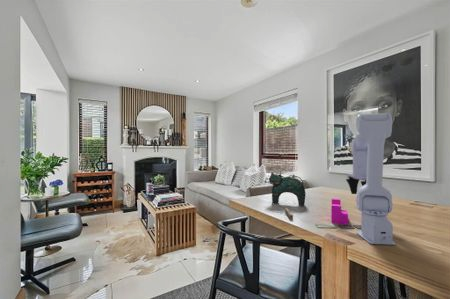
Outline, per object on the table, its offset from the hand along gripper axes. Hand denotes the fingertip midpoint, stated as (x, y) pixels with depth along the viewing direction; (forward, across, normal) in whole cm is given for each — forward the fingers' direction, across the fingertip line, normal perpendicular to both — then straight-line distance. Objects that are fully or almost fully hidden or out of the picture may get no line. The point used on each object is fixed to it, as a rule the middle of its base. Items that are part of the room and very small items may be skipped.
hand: (360, 195), depth 100 cm
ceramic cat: (+10, +30, +22) cm, 38 cm away
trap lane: (+10, +1, +18) cm, 21 cm away
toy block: (+11, +1, +10) cm, 14 cm away
